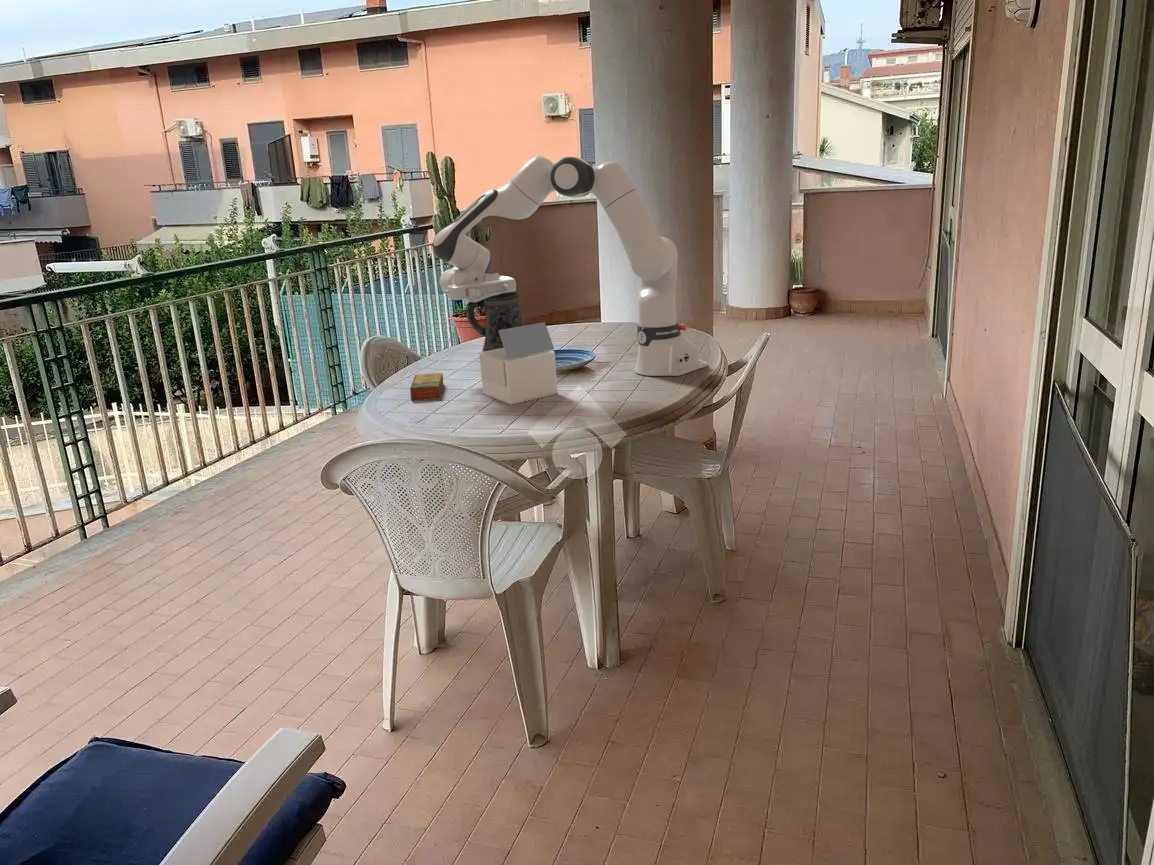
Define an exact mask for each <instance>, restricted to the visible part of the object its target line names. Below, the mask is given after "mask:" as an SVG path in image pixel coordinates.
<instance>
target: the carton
mask: <svg viewBox="0 0 1154 865" xmlns="http://www.w3.org/2000/svg"><path fill="white" fill-rule="evenodd" d="M444 385H445V384H444V375H443V373H442V372H435V373H434V372H433V373H421V374H419V373H418V374H415V375H414V377H413V381H412V382H411V385H410V387H409V389H410V392H409V393H410V401H411V402H413V401H415V400H416V401H426V400H425V399H428V400H437V399H439V398H440V399H441V396H442V392H443V388H444ZM416 401H415V402H416Z"/></svg>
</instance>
